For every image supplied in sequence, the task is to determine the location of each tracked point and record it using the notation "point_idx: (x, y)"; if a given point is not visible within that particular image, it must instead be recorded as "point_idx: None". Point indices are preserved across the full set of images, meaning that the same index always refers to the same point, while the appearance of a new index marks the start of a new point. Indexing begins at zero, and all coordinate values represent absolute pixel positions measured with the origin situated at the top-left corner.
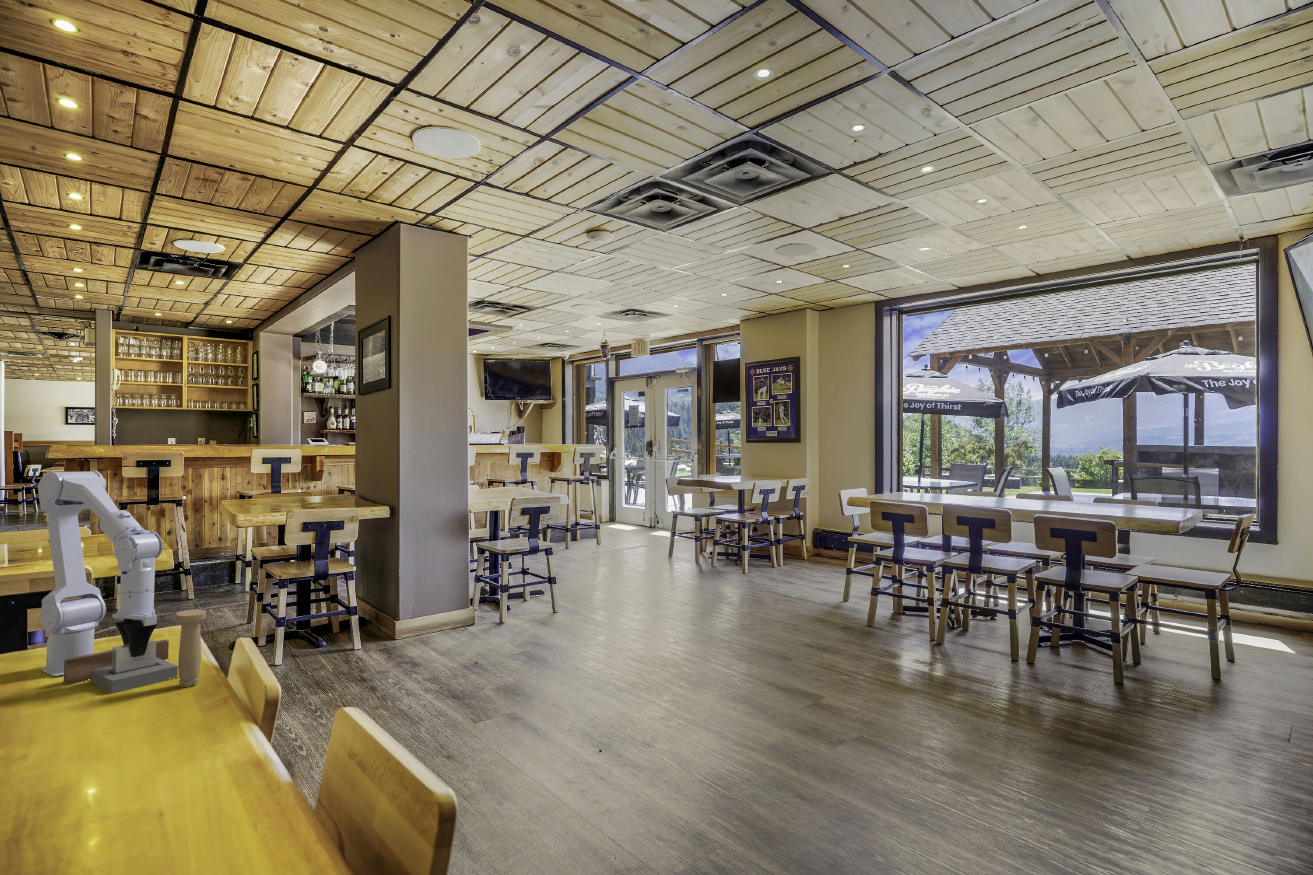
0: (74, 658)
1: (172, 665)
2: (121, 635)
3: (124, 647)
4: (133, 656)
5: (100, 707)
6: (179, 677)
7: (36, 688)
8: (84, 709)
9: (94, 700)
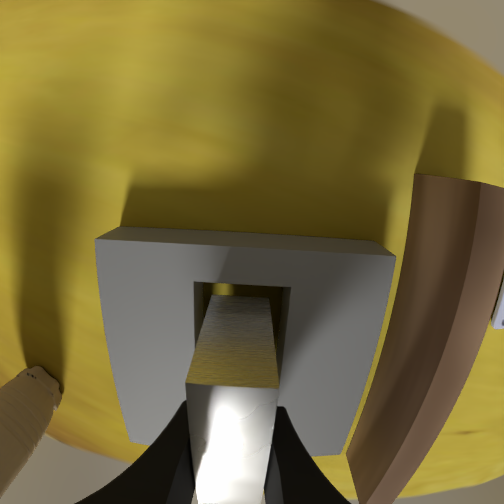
0: (492, 224)
1: (150, 440)
2: (324, 490)
3: (190, 421)
4: (181, 403)
5: (9, 149)
6: (24, 379)
7: (458, 102)
8: (27, 110)
9: (85, 154)
